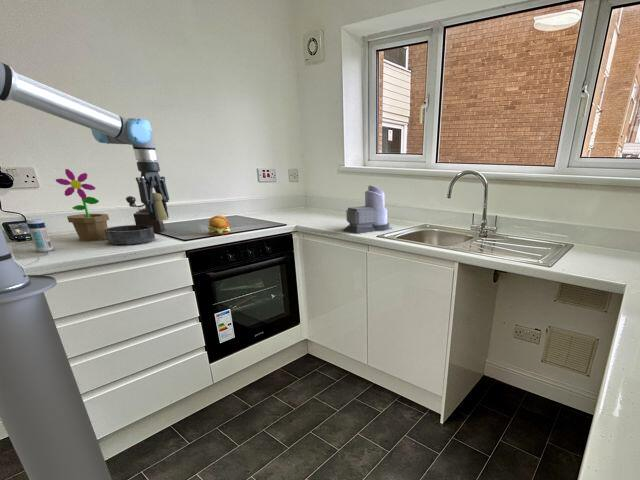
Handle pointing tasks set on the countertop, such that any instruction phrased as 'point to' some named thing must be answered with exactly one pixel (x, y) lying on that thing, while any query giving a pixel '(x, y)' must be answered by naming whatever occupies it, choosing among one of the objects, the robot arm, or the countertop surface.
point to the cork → (159, 207)
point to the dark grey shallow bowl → (129, 234)
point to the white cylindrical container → (39, 235)
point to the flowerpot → (85, 224)
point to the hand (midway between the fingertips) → (159, 218)
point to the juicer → (368, 213)
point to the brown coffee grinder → (144, 216)
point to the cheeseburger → (219, 225)
